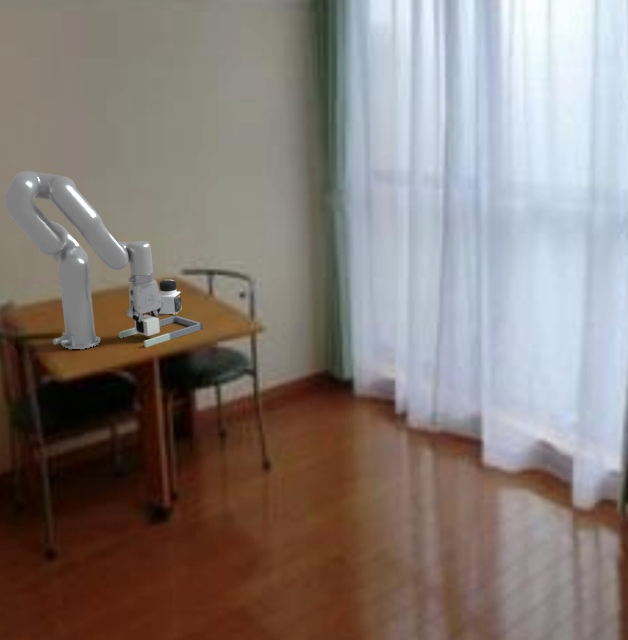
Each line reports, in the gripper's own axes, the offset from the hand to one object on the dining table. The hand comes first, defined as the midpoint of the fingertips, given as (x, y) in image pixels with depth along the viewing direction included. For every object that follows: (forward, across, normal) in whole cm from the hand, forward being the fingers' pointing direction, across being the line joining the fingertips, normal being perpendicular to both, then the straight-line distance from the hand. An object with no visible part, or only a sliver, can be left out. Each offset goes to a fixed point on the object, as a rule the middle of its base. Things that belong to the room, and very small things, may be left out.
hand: (147, 329), depth 287 cm
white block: (+1, 0, 0) cm, 1 cm away
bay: (+3, +7, 0) cm, 7 cm away
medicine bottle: (+4, +24, +18) cm, 30 cm away
